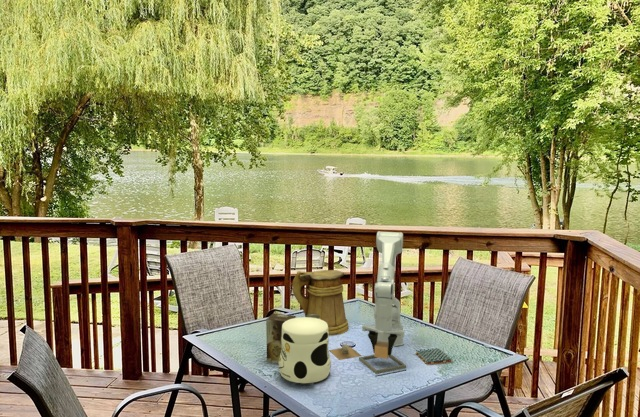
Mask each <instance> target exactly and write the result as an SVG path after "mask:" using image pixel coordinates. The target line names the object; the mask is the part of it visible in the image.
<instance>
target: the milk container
mask: <svg viewBox="0 0 640 417" xmlns="http://www.w3.org/2000/svg"><path fill="white" fill-rule="evenodd" d="M328 335H329V331H328V325H327V323H326V322H325V321H323V320H320V319H317V318H311V317H305V316H304V317H303V316H302V317H296V318H293V319H289V320H287V321H285V322H284V323H283V324H282V337H281V343H282V349H281V354H280V358H279V364H278V371H279V374H280V376H281V377H282V378H283V379H284V380H285V381H288V382H289V383H291V384H296V385H307V386H308V385H314V384H317V383H320V382H323V380H325V379H327V378H328V377H329V375H330V372H331V368H332V360H331V356H330V351H329V337H330V336H328Z"/></svg>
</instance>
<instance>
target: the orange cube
mask: <svg viewBox="0 0 640 417" xmlns="http://www.w3.org/2000/svg"><path fill="white" fill-rule="evenodd" d="M388 347H389V346H388V343H387V342H381V341H378V342H377V343H376V345H375V353H374V354H373V355H374V357H378V358H379V359H380V358H381V359H385V360H387V359H388V358H390V357H389V356H388Z"/></svg>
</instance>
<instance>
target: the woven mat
mask: <svg viewBox="0 0 640 417" xmlns="http://www.w3.org/2000/svg"><path fill="white" fill-rule="evenodd" d="M415 351H416V352H415V353H414V355H416V356H417V358H420V361H422V362H424V364H426V365H427V366H433V365H441V364H451V363H453V359H452V358H451V357H450V355H448V354H446V353H445V352H444V351H442V350H441V349H440V348H437V347H434V348H431V349H429V348H427V349H423V350H422V349H420V350H418V349H415Z"/></svg>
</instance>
